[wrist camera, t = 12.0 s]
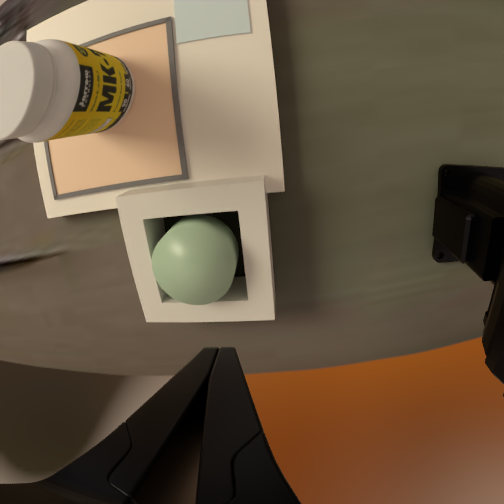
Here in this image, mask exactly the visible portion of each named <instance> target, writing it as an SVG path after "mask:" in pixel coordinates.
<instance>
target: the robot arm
mask: <svg viewBox="0 0 504 504" xmlns="http://www.w3.org/2000/svg"><path fill="white" fill-rule="evenodd" d="M446 169H447V170H448V174H447V176H445V170H446ZM432 235H433V237H434V242H433V251H432V257H433V259H434V260H435V261H436V262H439V263H441V262H453V261H460V262H461V263H465V264H467V265H468V266H469V267H470V268H471V269H472V270H473V271H474V272H475V273H476V274H477V275H478V276H479V277H480V278H481V279H482V280H483V281H491V282H492V283H493V284H494V289H493V293H492V297H491V300H490V304H489V308H488V311H487V312H485V316H484V319H483V322H484V326H485V327H484V330H483V337H482V343H483V347H484V350H485V354H486V356H487V357H486V359H485V364H486V365H487V366H488V368H489V369H490V371H491V372H492V373H493V374H494V376H495V377H497V378H498V379H499V380H500V381H501V382H502V383H503V384H504V168H502V167H489V166H473V165H454V164H443V165H442V166H440V168H439V171H438V195H437V198H436V199H435V211H434V223H433V234H432ZM440 252H441V255H440V256H439V257H438V254H439V253H440ZM503 396H504V394H503ZM0 504H301V502H300V501H299V499H298V498H297V496H296V495H295V493H294V491H293V490H292V488H291V487H290V485H289V483H288V482H287V480H286V478H285V477H284V475H283V473H282V471H281V470H280V468H279V466H278V464H277V463H276V460H275V458H274V456H273V453H272V451H271V449H270V446H269V444H268V441H267V438H266V436H265V433H264V431H263V428H262V425H261V422H260V420H259V417H258V414H257V411H256V409H255V405H254V403H253V400H252V397H251V394H250V391H249V388H248V385H247V382H246V379H245V376H244V373H243V370H242V367H241V364H240V361H239V358H238V355H237V352H236V350H235V348H234V347H221V348H220V349H219V348H218V347H205V348H203V349H202V350H201V351H200V352H199V353H198V354H197V355H196V356H195V357H194V358H193V359H192V360H191V361H189V362H188V363H187V364H186V365H185V366H184V367H183V368H182V369H181V370H180V371H179V372H178V373H177V374H176V375H175V376H173V377H172V378H171V379H170V380H169V381H168V382H167V383H166V384H165V385H164V386H163V387H162V388H161V389H160V390H158V391H157V392H156V393H155V394H154V395H153V396H152V397H151V398H150V399H149V400H148V401H147V402H145V403H144V404H143V405H142V406H141V407H140V408H139V409H138V410H137V411H136V412H135V413H133V414H132V415H131V416H130V417H129V418H128V419H127V420H126V423H125V422H123V423H122V424H121V425H120V426H119V427H118V428H117V429H115V430H114V431H113V432H112V433H111V434H109V435H108V436H107V437H106V438H105V439H103V440H102V441H101V442H100V443H98V444H97V445H96V446H94V447H93V448H92V449H90V450H89V451H88V452H86V453H85V454H83V455H82V456H80V457H79V458H77V459H76V460H75V461H73V462H72V463H70V464H68V465H67V466H65V467H64V468H62V469H61V470H59V471H58V472H57V473H55V474H53V475H52V476H50V477H48V478H46V479H43V480H41V481H37V482H33V483H19V484H0Z"/></svg>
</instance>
